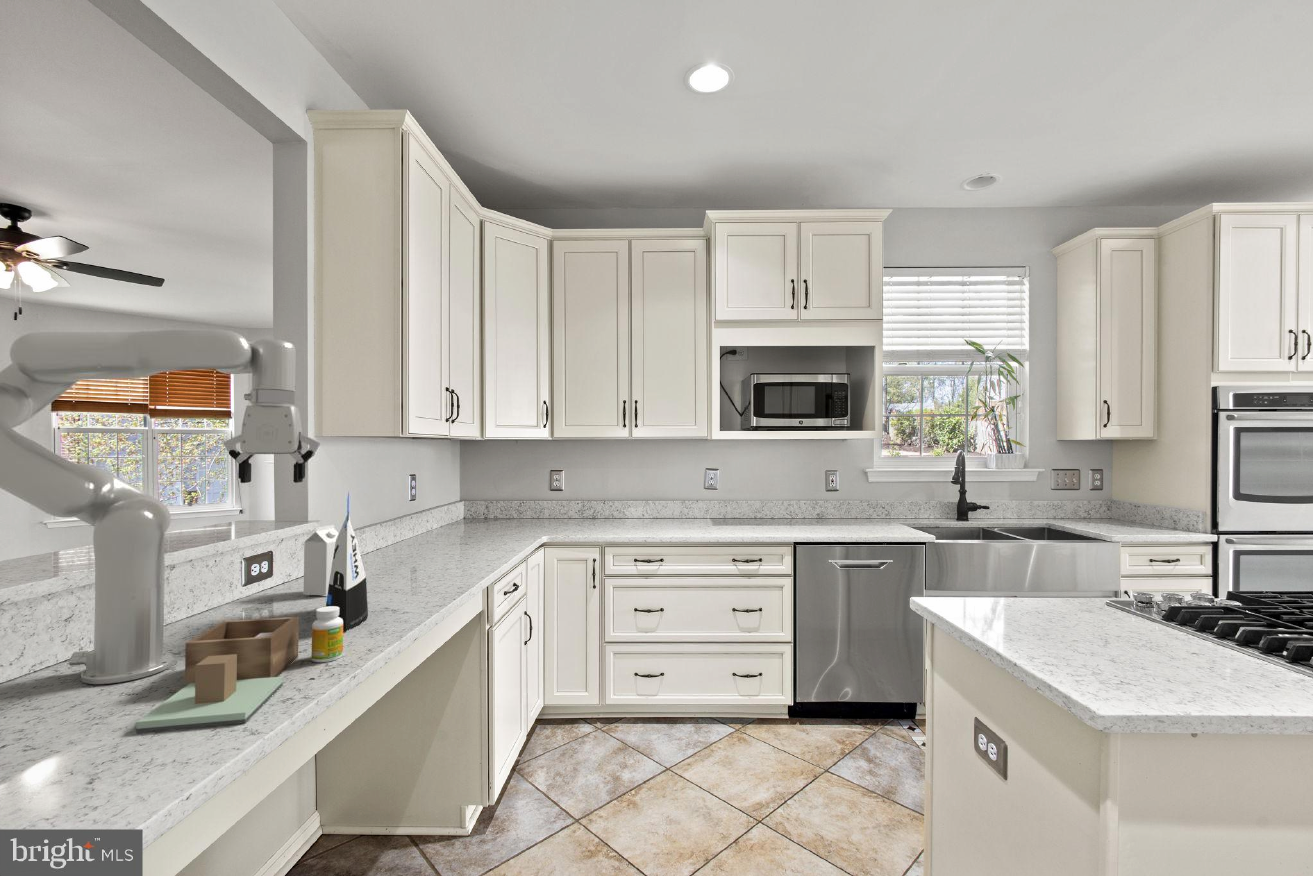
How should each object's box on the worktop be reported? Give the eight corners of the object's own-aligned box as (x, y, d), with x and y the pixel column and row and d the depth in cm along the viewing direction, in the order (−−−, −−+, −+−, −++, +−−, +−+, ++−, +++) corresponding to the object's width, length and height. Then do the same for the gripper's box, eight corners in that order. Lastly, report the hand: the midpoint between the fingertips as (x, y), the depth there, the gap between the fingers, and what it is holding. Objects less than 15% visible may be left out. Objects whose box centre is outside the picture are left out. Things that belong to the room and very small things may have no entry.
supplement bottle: (328, 664, 111) (329, 613, 111) (304, 661, 112) (305, 611, 112) (348, 654, 116) (349, 605, 117) (325, 652, 117) (326, 604, 118)
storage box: (184, 690, 99) (185, 643, 99) (222, 662, 112) (223, 620, 112) (270, 683, 102) (270, 638, 102) (298, 657, 114) (298, 616, 115)
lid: (136, 728, 84) (137, 680, 84) (189, 689, 98) (190, 647, 98) (245, 719, 87) (246, 672, 87) (282, 682, 101) (283, 642, 101)
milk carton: (303, 595, 161) (304, 527, 161) (321, 589, 168) (323, 524, 168) (325, 597, 160) (327, 528, 160) (343, 590, 167) (344, 525, 167)
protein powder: (367, 603, 154) (368, 490, 154) (369, 629, 132) (370, 498, 133) (326, 608, 149) (328, 491, 150) (321, 635, 128) (323, 499, 128)
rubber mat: (136, 733, 84) (136, 729, 84) (189, 693, 98) (189, 689, 98) (245, 723, 87) (245, 719, 87) (282, 685, 101) (282, 682, 101)
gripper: (216, 397, 114) (214, 483, 114) (313, 399, 118) (312, 483, 118) (234, 400, 122) (233, 481, 121) (325, 402, 125) (324, 481, 125)
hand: (272, 482), depth 120 cm, fingers open, 9 cm apart
